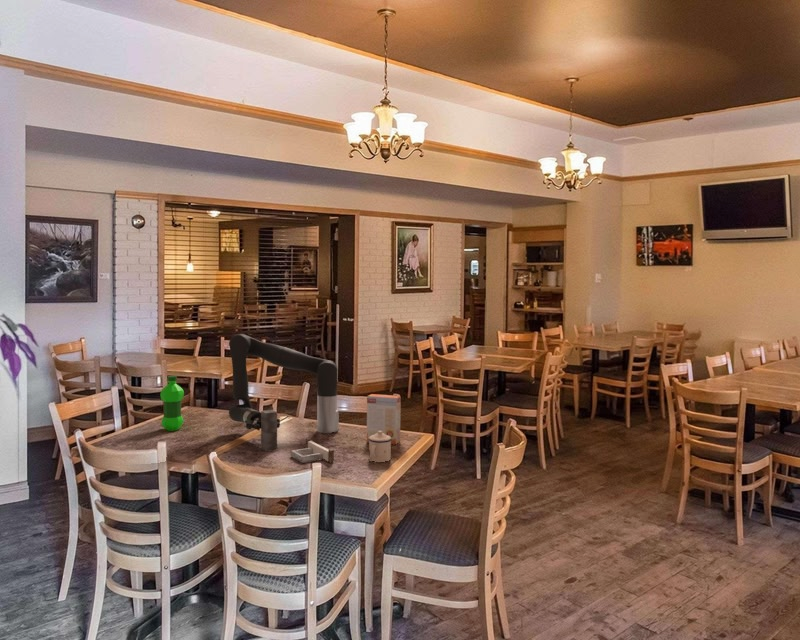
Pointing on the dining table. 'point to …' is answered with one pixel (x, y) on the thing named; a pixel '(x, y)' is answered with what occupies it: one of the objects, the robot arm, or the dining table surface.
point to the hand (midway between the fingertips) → (268, 426)
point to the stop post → (269, 430)
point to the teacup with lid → (379, 447)
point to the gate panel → (319, 450)
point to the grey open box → (309, 454)
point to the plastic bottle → (172, 404)
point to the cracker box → (384, 416)
